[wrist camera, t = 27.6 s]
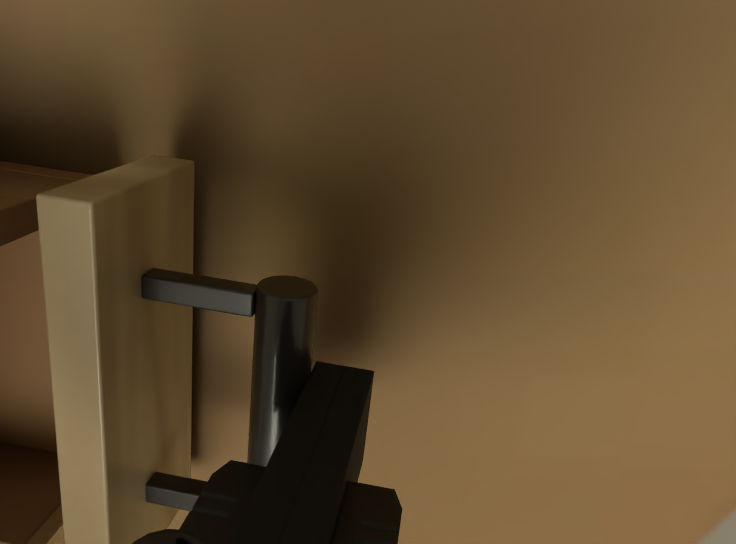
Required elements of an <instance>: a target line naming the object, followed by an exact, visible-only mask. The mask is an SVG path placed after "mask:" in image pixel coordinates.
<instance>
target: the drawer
mask: <svg viewBox="0 0 736 544" xmlns="http://www.w3.org/2000/svg"><path fill="white" fill-rule="evenodd" d="M193 238H194V162H193V161H191V160H184V159H178V158H171V157H164V156H157V155H152V156H149V157H146V158H143V159H140V160H137V161H134V162H131V163H128V164H125V165H122V166H119V167H116V168H114V169H111V170H108V171H105V172H102V173H99V174H96V175H91V174H84V173H78V172H71V171H64V170H58V169H51V168H44V167H38V166H31V165H24V164H18V163H11V162H5V161H0V544H46V543H47V542H48V541H49V540H50V539H51V537H52V536H53V535H54V534H55V533H56V531H57V530H58V529H59V528H60V527H61V526H62V524H63V529H64V541H65V544H132V543H133V542H134V541H136V540H137V539H139V538H141V537H143V536H145V535H147V534H148V533H151V532H156V531H160V530H164V529H167V528H168V526H169V525H170V523H171V522H172V520H173V518H174V517H175V515H176V513H177V512H178V510H179V509H182V510H187V511H192V508H193V506H194V504H195V502H196V501H197V499H198V497H199V496H201V492H202V491H203V489H204V487H205V485H206V484H207V482H206V481H201V480H196V479H191V406H192V322H193V307H196V308H202V309H208V310H214V311H220V312H225V313H231V314H237V315H243V316H249V317H252V316H253V315H254V314H255V326H254V345H253V364H252V384H251V403H250V422H249V441H248V460H247V463H249V464H254V465H259V466H265V467H266V466H267V464H268V461H269V459H270V457H271V455H272V453H273V451H274V449H275V447H276V445H277V443H278V441H279V438H280V436H281V434H282V432H283V430H284V428H285V426H286V424H287V422H288V420H289V418H290V415H291V413H292V411H293V409H294V407H295V405H296V403H297V401H298V399H299V397H300V395H301V392H302V390H303V388H304V386H305V384H306V382H307V380H308V378H309V376H310V374H311V365H312V354H313V343H314V332H315V321H316V310H317V299H318V288H317V286H316V285H315V284H314V283H313V282H311V281H309V280H307V279H304V278H300V277H295V276H272V277H268V278H265V279H263V280H261V281H260V282H259V283H258V284H257V285H255V284H249V283H243V282H237V281H231V280H225V279H219V278H213V277H207V276H201V275H195V274H193Z"/></svg>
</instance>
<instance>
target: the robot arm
mask: <svg viewBox="0 0 736 544" xmlns="http://www.w3.org/2000/svg"><path fill="white" fill-rule="evenodd" d="M373 376H374V371H371V370H365V369H359V368H353V367H347V366H341V365H335V364H330V363H324V362H318V361H316V363H315V365H314V367H313V369H312V371H311V374H310V376H309V378H308V380H307V382H306V384H305V386H304V388H303V390H302V392H301V395H300V397H299V399H298V401H297V403H296V405H295V407H294V409H293V411H292V413H291V415H290V418H289V420H288V422H287V424H286V426H285V428H284V430H283V432H282V434H281V436H280V438H279V441H278V443H277V445H276V447H275V449H274V451H273V453H272V455H271V457H270V459H269V461H268V464H267V466H266V467H265V466H259V465H254V464H249V463H243V462H238V461H233V460H231V461H229V462H228V463H227V464H225V465H224V466H223V467H221V468H220V469H218V470H217V471H216V472H214V473H213V474H212V475H211V477H210V479H209V480H208V482H207V484H206V485H205V487H204V489H203V491H202V492H201V496H199V497H198V499H197V501H196V502H195V504H194V506H193V508H192V511H190V512H189V514H188V516H187V517H186V519H185V521H184V522H183V524H182V526H181V527H180V529H179V530H176V529H164V530H160V531H156V532H151V533H148V534H147V535H145V536H143V537H141V538H139V539H137V540H136V541H134V542H133V543H132V544H397V543H398V536H399V529H400V521H401V514H402V507H401V505H400V502H399V500H398V497H397V494H396V492H395V490H394V489H389V488H384V487H379V486H373V485H368V484H363V483H357V482H358V478H359V474H360V470H361V466H362V462H363V455H364V447H365V439H366V431H367V424H368V416H369V408H370V400H371V392H372V384H373Z"/></svg>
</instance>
